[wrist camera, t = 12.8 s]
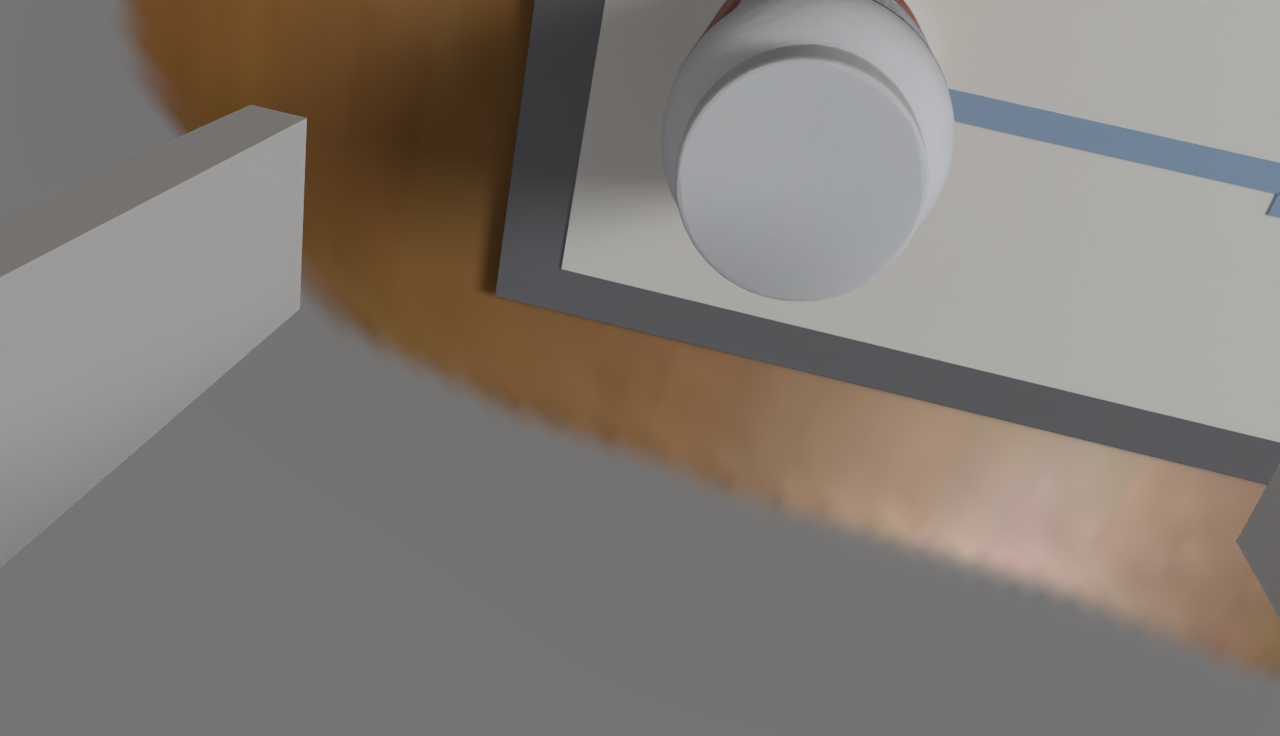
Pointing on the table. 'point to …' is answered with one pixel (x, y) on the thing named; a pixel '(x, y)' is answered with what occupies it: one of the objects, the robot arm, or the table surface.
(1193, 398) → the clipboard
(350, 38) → the table surface
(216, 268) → the robot arm
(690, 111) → the pill bottle
